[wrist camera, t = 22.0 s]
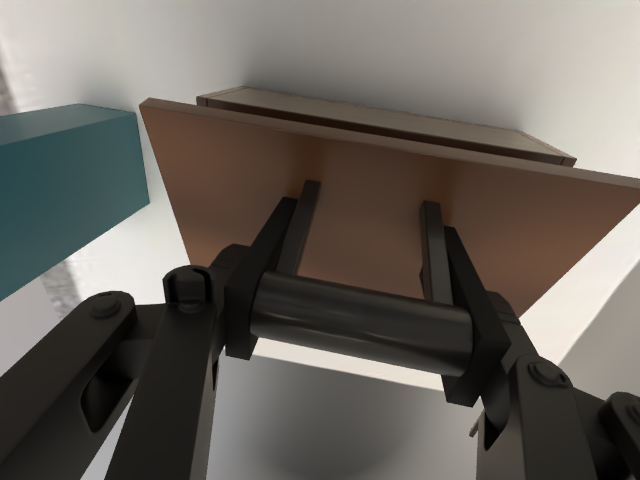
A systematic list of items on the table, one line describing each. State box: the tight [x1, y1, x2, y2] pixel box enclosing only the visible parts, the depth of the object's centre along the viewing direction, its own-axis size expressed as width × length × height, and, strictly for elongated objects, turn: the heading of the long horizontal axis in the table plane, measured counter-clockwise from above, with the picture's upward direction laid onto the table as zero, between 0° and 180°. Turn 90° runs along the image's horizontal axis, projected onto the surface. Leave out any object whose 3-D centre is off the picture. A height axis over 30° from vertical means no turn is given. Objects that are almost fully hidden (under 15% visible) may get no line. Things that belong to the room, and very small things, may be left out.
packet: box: [0, 104, 149, 301], centre depth 20 cm, size 8×5×14 cm, turn 172°
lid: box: [139, 98, 640, 378], centre depth 15 cm, size 14×19×8 cm
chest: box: [196, 86, 577, 168], centre depth 22 cm, size 13×19×7 cm
